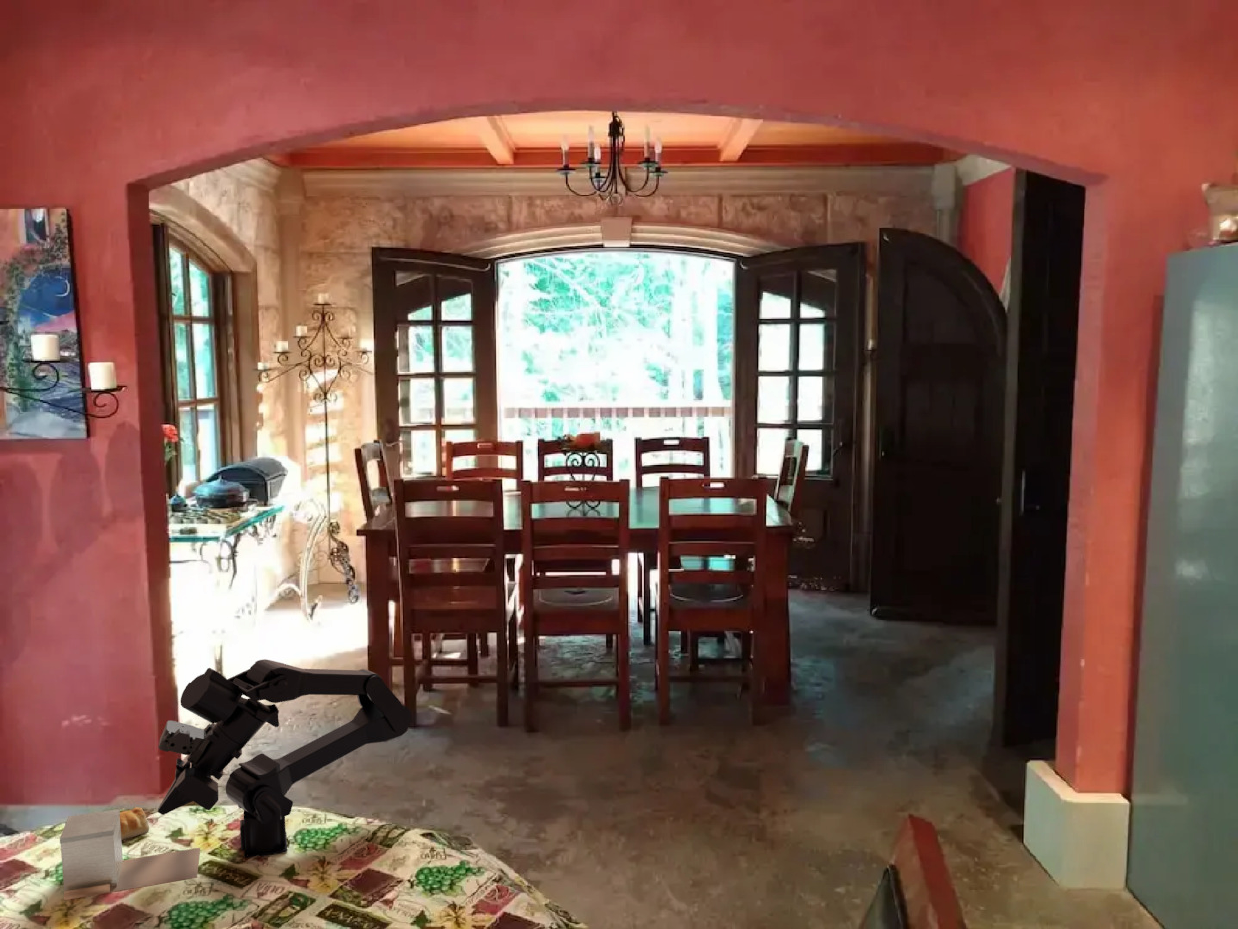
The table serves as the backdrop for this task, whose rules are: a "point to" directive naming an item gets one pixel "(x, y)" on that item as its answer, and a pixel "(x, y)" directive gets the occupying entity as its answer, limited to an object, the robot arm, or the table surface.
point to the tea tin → (91, 850)
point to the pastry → (133, 823)
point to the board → (148, 872)
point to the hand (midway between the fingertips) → (160, 812)
